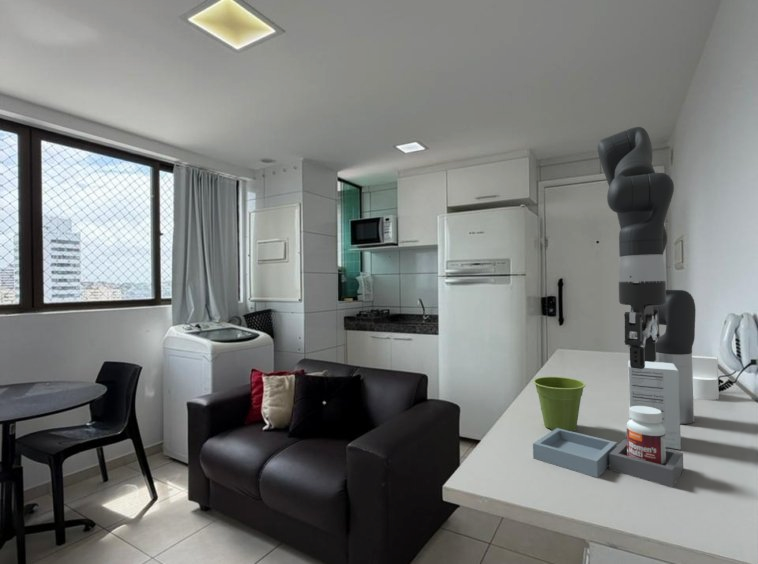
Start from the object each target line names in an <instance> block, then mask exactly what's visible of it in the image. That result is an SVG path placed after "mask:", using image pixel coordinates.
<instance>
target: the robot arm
mask: <svg viewBox="0 0 758 564" xmlns="http://www.w3.org/2000/svg"><path fill="white" fill-rule="evenodd" d="M597 152H598V158H599V162H600V164H601V167H602V171H603V173H604V175H605V179H606V182H607V185H608V190H607V196H606V197H607V200H606V201H607V204H608V207H609V209H610V210H611V211H613V212H614V213H616V214H617V219H618V223H619V227H620V229H619V235H618V241H619V242H618V245H619V246H618V248H619V249H618V251H619V254H618V255H619V261H618V270H617V271H618V272H617V273H618V302H619V304H621V305H625V306H630V311H625V312H624V314H623V315H624V345H626V346H627V348H629V360H630V366H631V367H632V368H637V369H643V368H644V367H645V361H646V362H663V363H673V364H674V365H675V367H676V368H677V369H678V371H679V402H680V425H681V424H684V425H685V424H692V423H693V422H694V421H695V415H694V414H695V413H694V412H695V411H694V408H695V407H694V398H693V368H692V356H693V345H694V342H695V338H696V337H695V336H696V335H695V334H696V330H695V329H696V304H695V299H694V297H693V295H692V294H691V293H690V292H688V291H687V290H685V289H684V290H683V289H667V286H666V284H667V283H666V274H667V273H666V264H665V258H664V257H665V256H664V252H665V250H666V248H667V243H668V234H667V230H666V226H665V222H666V218H667V214H668V210H669V208H670V204H671V203H672V202H671V201H672V199H673V195H674V190H675V184H674V181H673V179H672V177H670V176H669V175H668V174H667V173H664V172H656V170H655V169H654V166H653V164H652V162H653V145H652V142H651V138H650V136H649V134H648V131H647V130H646V129H645V128H644V127H642V126H635V127H632V128H628V129H626V130H623V131H620V132H617V133H615V134H612V135H610V136H607V137H604V138H603V139H600V140H599V141H598V143H597ZM660 326H665V332H664V334H662V335H660Z"/></svg>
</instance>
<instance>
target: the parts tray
mask: <svg viewBox="0 0 758 564" xmlns="http://www.w3.org/2000/svg"><path fill="white" fill-rule="evenodd" d="M617 446H618V442H617V441H612V440H608V439H604V438H600V437H596V436H592V435H587V434H584V433H579V432H576V431H567V430H563V429H559V428H556V429H555V430H551V431H550V432H549V433H547V434H545V435H544V436H542V437H541V438H540V439H539V438H538V439H537V440H536V441H534V442H533V443H532V457H533V459H536V460H538V461H541V462H545V463H548V464H551V465H555V466H558V467H560V468H565V469H567V470H569V471H574V472H578V473H580V474H584V475H586V476H591V477H594V478H596V479H598V477H600V475H602V474H603V472H604V471H605V470H606V469H608V467H610V460H609V454H610V453H611V452H612V451H613V450H614V449H615V448H616V447H617Z"/></svg>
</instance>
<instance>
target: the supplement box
mask: <svg viewBox="0 0 758 564" xmlns="http://www.w3.org/2000/svg"><path fill="white" fill-rule="evenodd" d="M627 378H628V393H629V395H628V396H629V397H628V421H629V420H631V418H630V415H629V414H630V407H632V406H646V407H652V408H656V409H658V410H660V411H661V412H662V422H660V424H661V425H662V426H663V427H664V428H665V442H666V449H667V448H668V449H672V450H673V449H674V450H678V451H679V450H681V448H682V446H681V445H682V443H681V442H682V441H681V440H682V439H681V424H680V402H679V371H678V369H677V368H676V367H675V365H674V364H673V363H663V362H648V361H645V367H644V368H643V369H637V368H632V367H631V366H630V359H629V360H627Z"/></svg>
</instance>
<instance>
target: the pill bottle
mask: <svg viewBox="0 0 758 564" xmlns="http://www.w3.org/2000/svg"><path fill="white" fill-rule="evenodd" d="M629 415H630V418H631V420H629V419H628V421H627V422H626V440H627V456H630V457H634V458H637V459H641V460H645V461H649V462H653V463H657V464H661V465H665V466H666V449H667V447H666V442H665V428H664V427H663V426H662V425H661V424H660V422H662V412H661V411H660V410H658V409H656V408H652V407H646V406H632V407H630V414H629V413H628V416H629Z"/></svg>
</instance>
